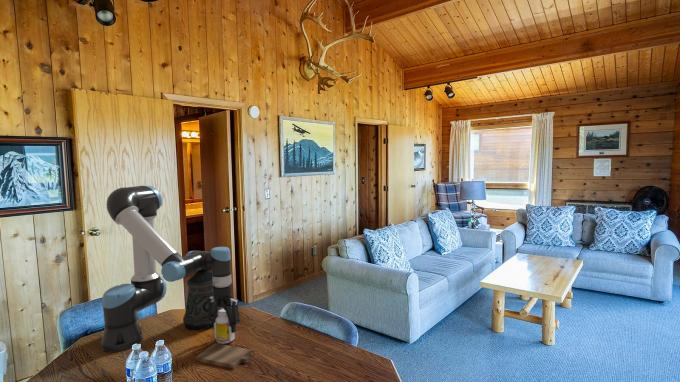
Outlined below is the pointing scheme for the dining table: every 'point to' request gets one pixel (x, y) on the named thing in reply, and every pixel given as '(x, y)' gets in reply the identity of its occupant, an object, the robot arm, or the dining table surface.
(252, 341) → the dining table surface
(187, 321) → the beer stein
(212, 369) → the dining table surface
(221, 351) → the walnut board
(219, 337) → the supplement bottle
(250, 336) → the dining table surface
